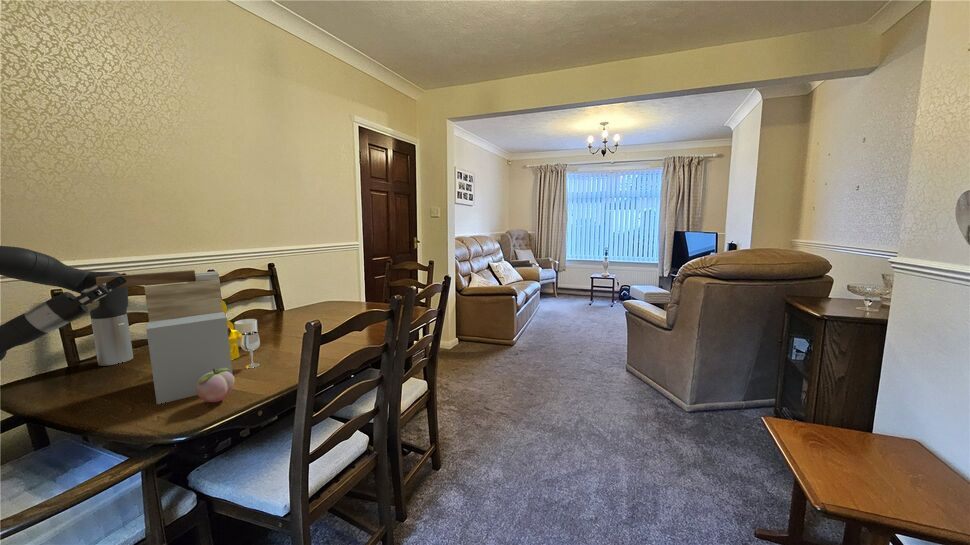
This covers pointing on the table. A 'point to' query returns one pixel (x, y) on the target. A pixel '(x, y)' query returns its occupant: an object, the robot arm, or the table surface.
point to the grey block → (186, 353)
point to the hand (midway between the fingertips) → (125, 277)
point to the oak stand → (183, 299)
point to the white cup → (245, 327)
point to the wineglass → (250, 345)
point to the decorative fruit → (215, 385)
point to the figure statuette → (232, 336)
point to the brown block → (161, 278)
